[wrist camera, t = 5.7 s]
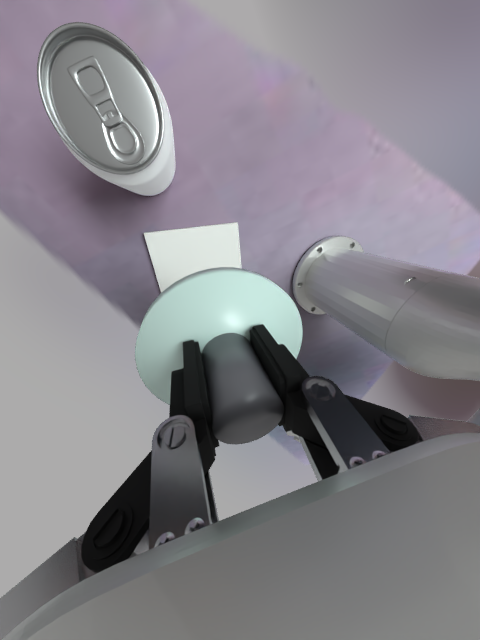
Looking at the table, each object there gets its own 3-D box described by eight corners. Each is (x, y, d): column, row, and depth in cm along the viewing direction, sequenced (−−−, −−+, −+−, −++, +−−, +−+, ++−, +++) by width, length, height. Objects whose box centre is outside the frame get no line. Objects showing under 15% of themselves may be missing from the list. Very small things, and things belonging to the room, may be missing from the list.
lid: (296, 253, 10) (380, 283, 6) (292, 378, 15) (338, 446, 11) (107, 286, 9) (40, 359, 4) (167, 415, 13) (162, 512, 9)
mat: (235, 222, 26) (237, 222, 25) (242, 301, 31) (244, 303, 30) (144, 232, 24) (143, 233, 23) (168, 315, 29) (168, 318, 28)
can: (134, 206, 22) (97, 203, 12) (89, 134, 19) (-17, 42, 9) (187, 180, 22) (193, 154, 12) (151, 103, 19) (118, -23, 9)
